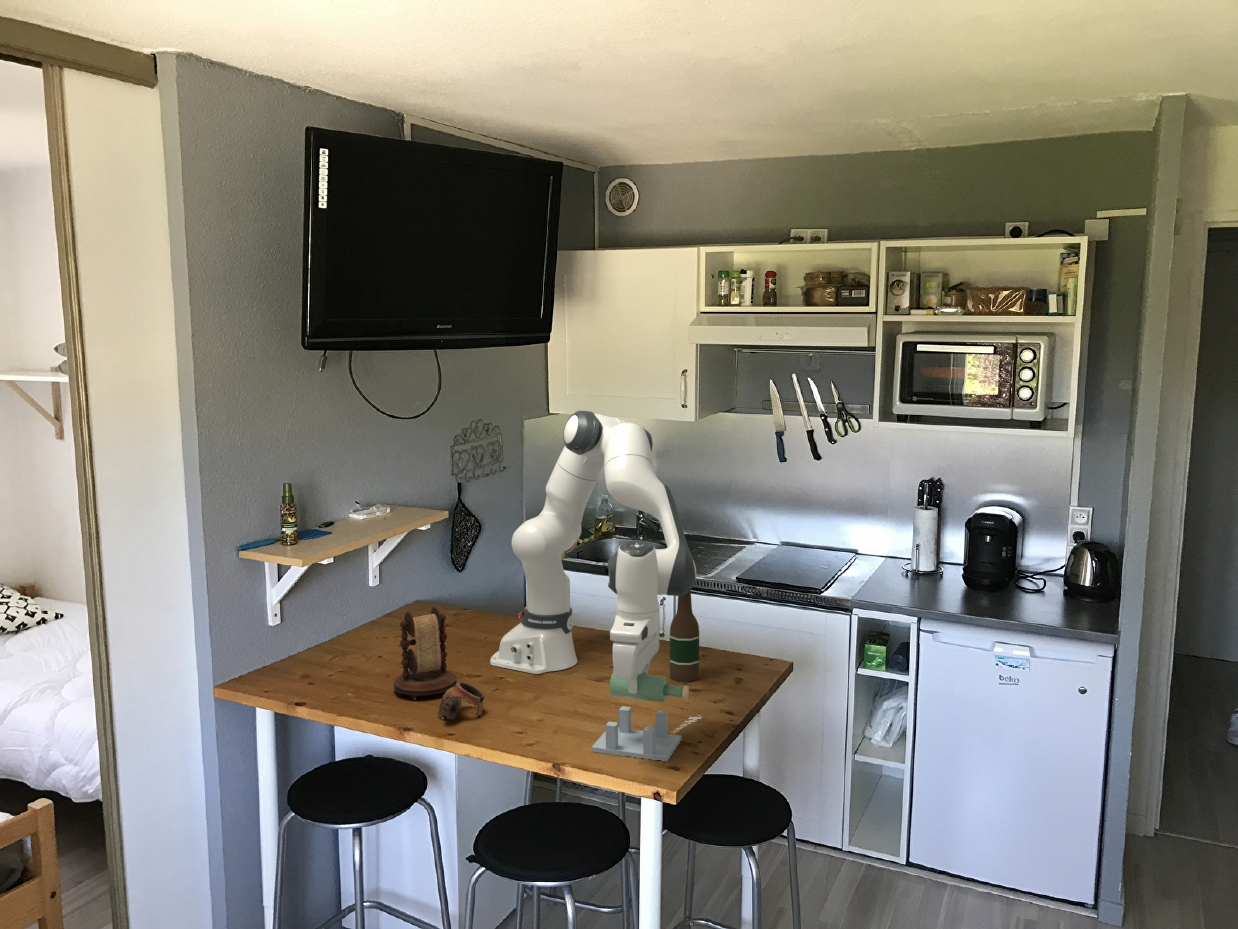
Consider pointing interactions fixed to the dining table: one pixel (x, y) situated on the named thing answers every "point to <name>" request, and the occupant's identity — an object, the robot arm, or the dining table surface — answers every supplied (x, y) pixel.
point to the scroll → (424, 656)
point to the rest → (637, 738)
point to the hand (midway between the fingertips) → (638, 686)
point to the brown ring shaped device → (453, 701)
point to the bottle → (648, 688)
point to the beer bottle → (684, 642)
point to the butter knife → (690, 721)
